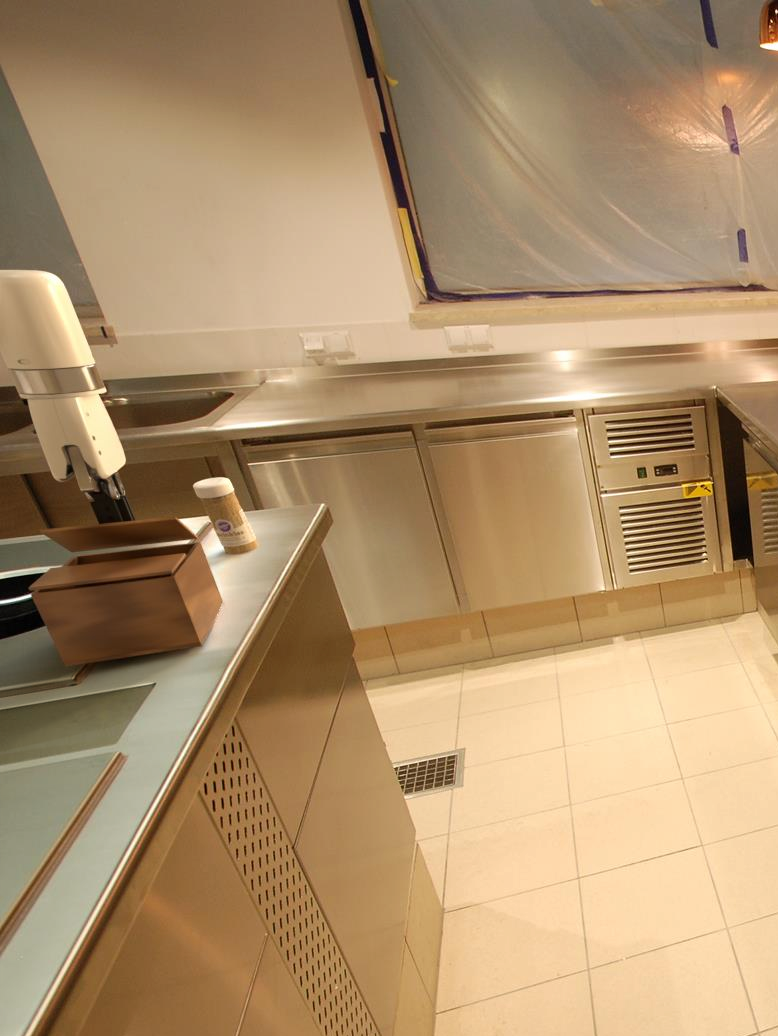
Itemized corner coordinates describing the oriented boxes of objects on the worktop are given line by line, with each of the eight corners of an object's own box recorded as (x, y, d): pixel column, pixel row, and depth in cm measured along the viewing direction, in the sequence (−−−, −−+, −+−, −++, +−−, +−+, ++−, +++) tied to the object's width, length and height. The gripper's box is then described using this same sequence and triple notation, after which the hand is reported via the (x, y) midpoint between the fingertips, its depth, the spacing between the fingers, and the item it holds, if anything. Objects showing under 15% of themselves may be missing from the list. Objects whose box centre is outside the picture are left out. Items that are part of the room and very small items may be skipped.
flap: (40, 532, 103) (39, 529, 103) (71, 552, 109) (71, 549, 109) (176, 519, 108) (175, 516, 108) (198, 539, 115) (197, 536, 115)
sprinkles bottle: (229, 569, 133) (189, 488, 126) (232, 558, 136) (193, 479, 129) (264, 562, 135) (227, 483, 128) (267, 552, 138) (230, 474, 131)
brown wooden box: (65, 666, 102) (27, 588, 97) (103, 621, 113) (70, 549, 109) (202, 645, 108) (171, 570, 103) (224, 605, 119) (198, 536, 115)
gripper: (38, 375, 105) (99, 516, 112) (-10, 392, 93) (61, 549, 101) (118, 372, 108) (171, 510, 116) (81, 389, 96) (143, 540, 104)
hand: (120, 528), depth 108 cm, fingers closed
